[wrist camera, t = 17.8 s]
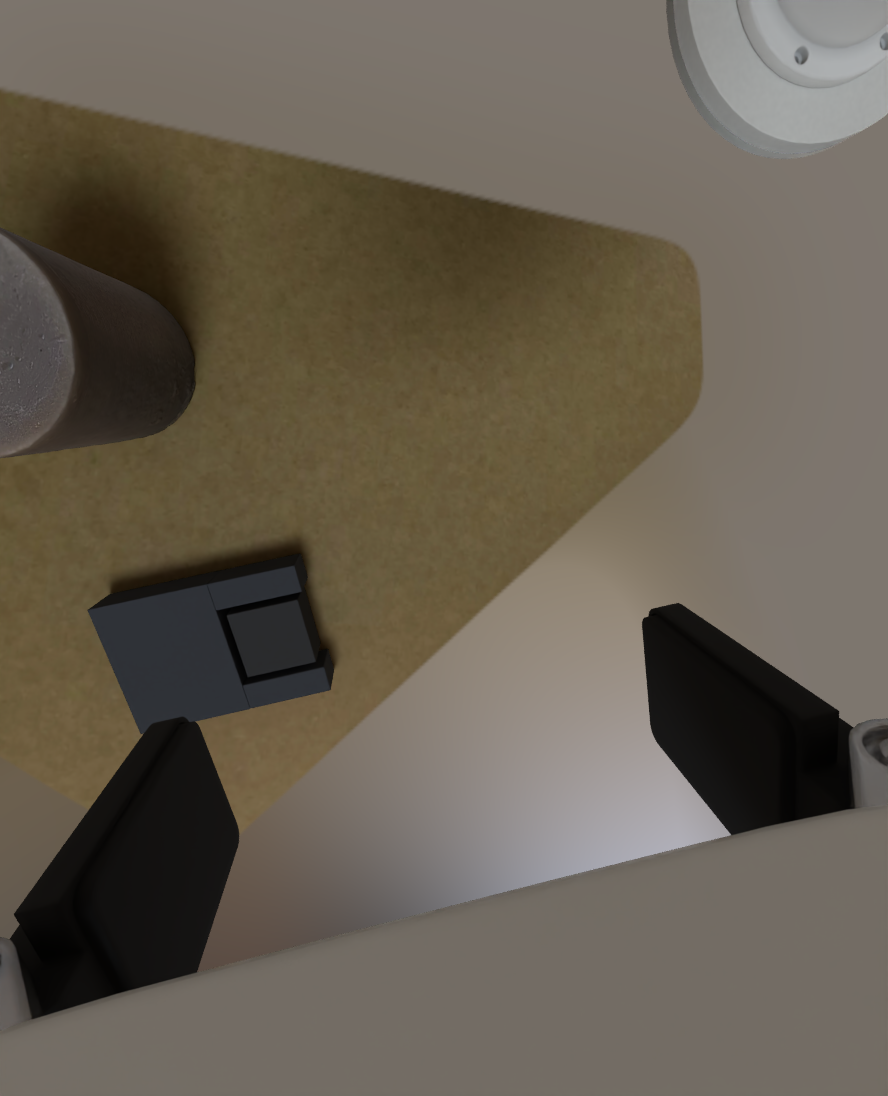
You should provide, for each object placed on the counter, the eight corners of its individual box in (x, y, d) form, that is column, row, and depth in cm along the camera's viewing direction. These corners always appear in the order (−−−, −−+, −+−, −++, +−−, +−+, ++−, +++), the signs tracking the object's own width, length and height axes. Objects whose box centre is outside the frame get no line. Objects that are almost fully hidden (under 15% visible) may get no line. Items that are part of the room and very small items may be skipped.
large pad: (300, 553, 38) (294, 565, 35) (334, 670, 41) (330, 690, 38) (109, 593, 37) (87, 610, 34) (157, 710, 40) (140, 734, 37)
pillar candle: (224, 402, 35) (112, 403, 20) (93, 462, 35) (-111, 506, 20) (141, 253, 32) (-58, 130, 17) (-1, 319, 32) (-316, 251, 17)
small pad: (304, 585, 39) (297, 599, 36) (320, 643, 40) (316, 662, 37) (237, 599, 38) (226, 615, 36) (257, 657, 40) (247, 677, 37)
